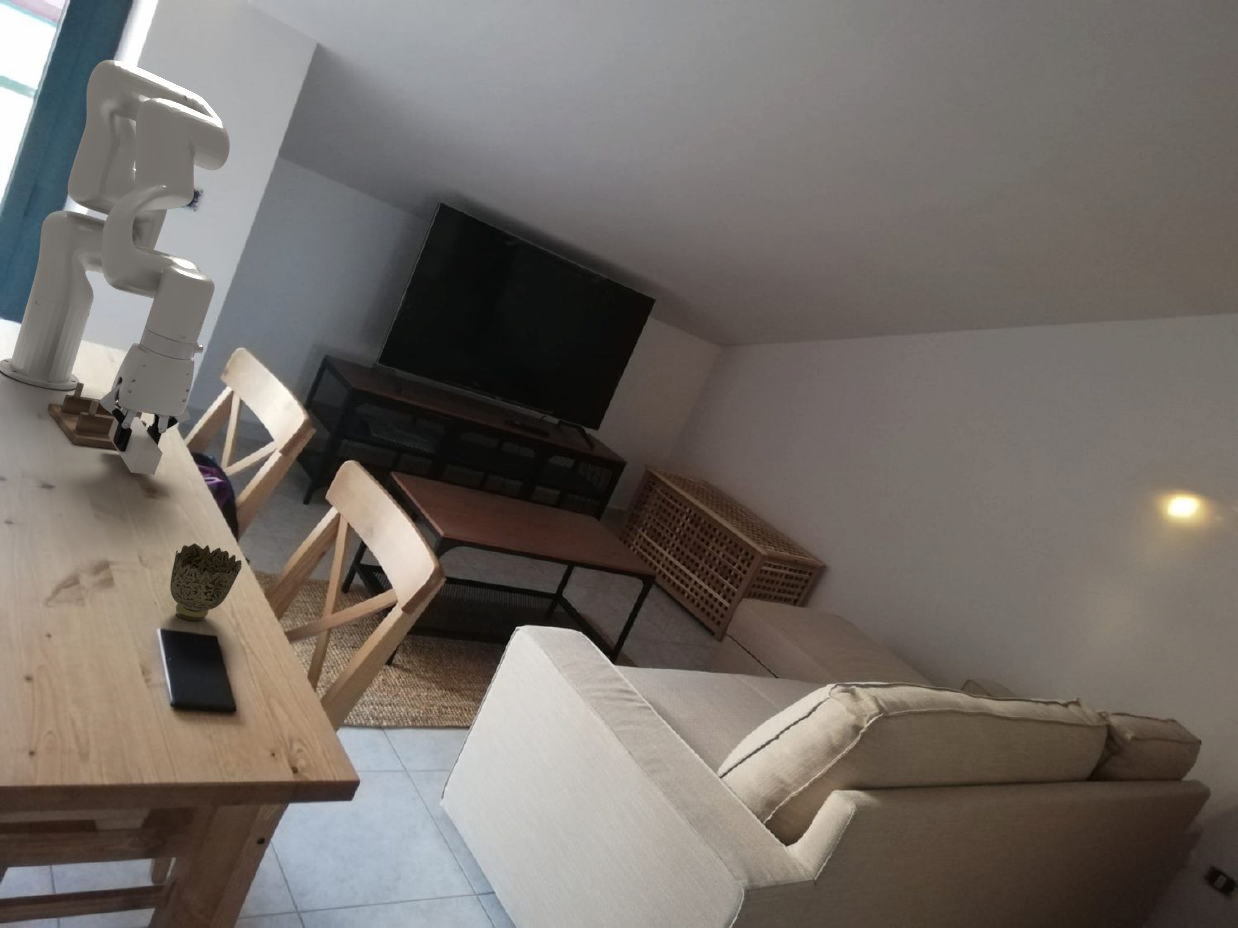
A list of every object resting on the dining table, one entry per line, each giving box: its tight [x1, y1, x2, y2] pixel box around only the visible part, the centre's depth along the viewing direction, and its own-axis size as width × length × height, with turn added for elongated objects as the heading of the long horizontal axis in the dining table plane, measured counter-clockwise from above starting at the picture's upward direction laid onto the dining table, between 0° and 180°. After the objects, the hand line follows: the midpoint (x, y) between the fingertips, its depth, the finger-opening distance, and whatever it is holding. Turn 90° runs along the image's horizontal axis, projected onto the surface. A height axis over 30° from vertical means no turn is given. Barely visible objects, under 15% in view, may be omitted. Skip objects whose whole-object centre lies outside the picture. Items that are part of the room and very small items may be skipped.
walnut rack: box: [47, 381, 147, 450], centre depth 147 cm, size 15×12×7 cm
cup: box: [169, 543, 243, 622], centre depth 104 cm, size 8×7×8 cm
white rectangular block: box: [108, 417, 163, 476], centre depth 138 cm, size 12×4×4 cm, turn 49°
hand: (133, 449), depth 138 cm, fingers closed on white rectangular block, 3 cm apart
